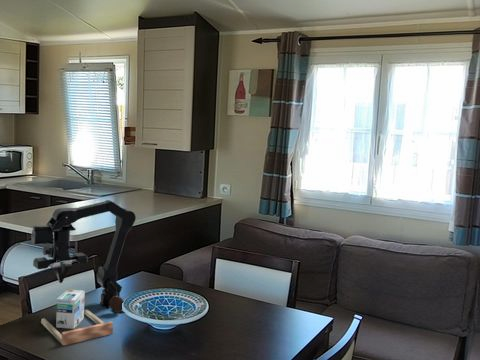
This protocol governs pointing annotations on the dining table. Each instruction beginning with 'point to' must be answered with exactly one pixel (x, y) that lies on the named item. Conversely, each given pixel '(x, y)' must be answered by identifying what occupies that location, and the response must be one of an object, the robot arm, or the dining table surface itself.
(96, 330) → the frame
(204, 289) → the dining table surface
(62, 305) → the light bulb box
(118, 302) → the dark brown rounded lump
